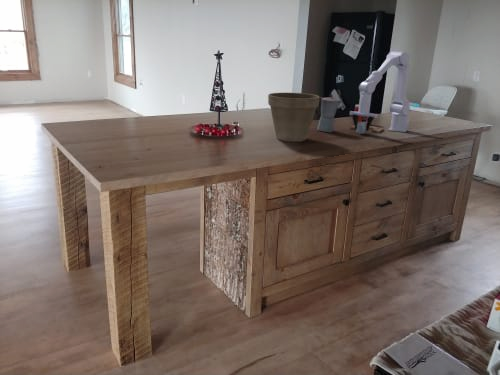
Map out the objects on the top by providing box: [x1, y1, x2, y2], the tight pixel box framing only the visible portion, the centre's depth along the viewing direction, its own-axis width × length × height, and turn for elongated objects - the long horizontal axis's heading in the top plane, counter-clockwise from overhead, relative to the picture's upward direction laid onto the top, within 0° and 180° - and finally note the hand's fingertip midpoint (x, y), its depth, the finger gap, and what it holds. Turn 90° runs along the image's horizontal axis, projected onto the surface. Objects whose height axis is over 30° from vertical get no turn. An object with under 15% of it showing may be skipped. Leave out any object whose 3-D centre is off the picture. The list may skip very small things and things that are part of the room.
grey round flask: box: [355, 122, 368, 135], centre depth 243 cm, size 9×6×6 cm, turn 152°
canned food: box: [353, 104, 368, 123], centre depth 272 cm, size 8×8×11 cm
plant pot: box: [267, 92, 320, 143], centre depth 221 cm, size 25×25×22 cm
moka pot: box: [315, 94, 343, 133], centre depth 244 cm, size 10×15×20 cm, turn 78°
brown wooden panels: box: [350, 125, 384, 134], centre depth 256 cm, size 16×11×1 cm
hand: (361, 129), depth 245 cm, fingers closed on grey round flask, 6 cm apart
